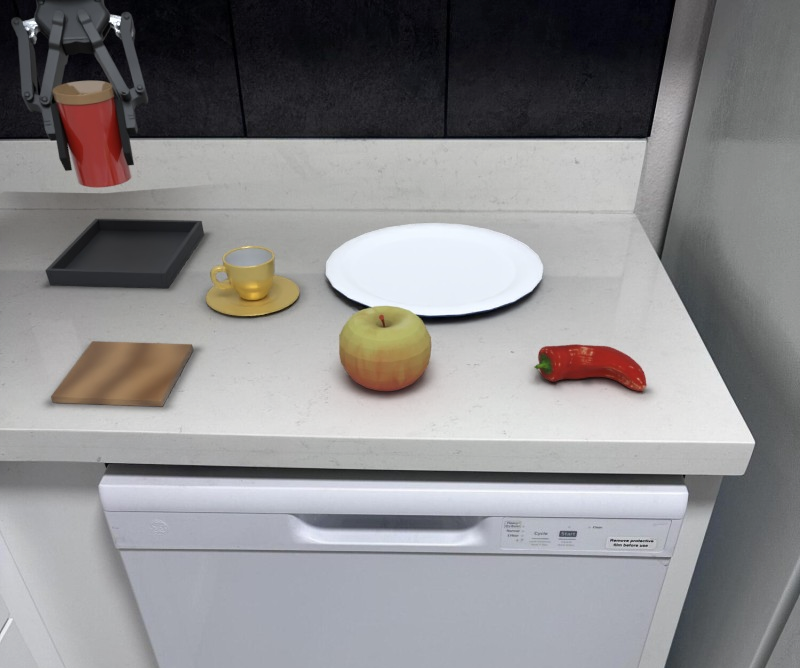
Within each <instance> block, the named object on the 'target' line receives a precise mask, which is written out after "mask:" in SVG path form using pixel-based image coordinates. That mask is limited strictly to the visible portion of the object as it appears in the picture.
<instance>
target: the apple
mask: <svg viewBox="0 0 800 668" xmlns="http://www.w3.org/2000/svg"><path fill="white" fill-rule="evenodd" d="M338 344H339V345H338V346H339V347H338V355H339V359H340V360H339V361H340V364H341V366H342V367H343V369H344V370H345V371H346V372H347V374H348V376H350V378H351V379H352V380H353V381H354V382H355V383H356V384H358V385H360V386H362V387H364V388H367V389H368V390H373V391H378V392H392V391H398V390H402V389H404V388H406V387H409V386H410V385H412V384H414V383H415V382H416V381H417V380H418V379H419V378H420V377H422V376H423V374H425V371H427V368H428V366H429V365H430V359H431V354H432V336H431V334H430V333H429V331H428V328H427V326H426V325H425V323H424V321H423V320H422V318H421V317H420V316H417V315H415V314H414V313H412V312H411V311H409V310H406V309H403V308H400V307H393V306H375V307H371V308H369V307H366V308H364V309H361V310H359V311H357V312H356V313H353V314H352V316H350V317H349V319H348V320H347V321H346V323H345V324H344V325H343V326H342V328H341V330H340V333H339V339H338Z"/></svg>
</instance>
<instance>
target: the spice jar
mask: <svg viewBox="0 0 800 668" xmlns="http://www.w3.org/2000/svg"><path fill="white" fill-rule="evenodd" d="M52 91H53V95H54V99H55V101H56V103H57V106H58V110H59V114H60V117H61V121H62V125H63V128H64V132H65V136H66V139H67V143H68V149H69V155H70V159H71V161H72V165H73V167H74V168H73V169H74V173H75V176H76V179H77V182H78V184H79V185H81V186H82V187H87V188H95V189H96V188H99V189H100V188H109V187H114V186H115V187H116V186H119V185H123V184H124V183H127V182H128V181H130V180H131V179H132V176H133V175H132V170H131V165H129V166H128V165H127V162H126V159H125V156H124V153H123V148H122V142H121V136H120V130H119V124H118V118H117V112H116V106H115V100H114V99H115V90H114V89H113V87H112V84H111V83H110V82H109V81H108V82H107V81H103V80H79V81H71V82H66V83H61V85H59V86H56V87H55V88H53V90H52Z"/></svg>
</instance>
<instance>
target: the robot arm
mask: <svg viewBox="0 0 800 668" xmlns="http://www.w3.org/2000/svg"><path fill="white" fill-rule="evenodd" d="M35 2H36V10H35V12H34V16H33V18H30V19H26V20H22V19H21V18H20V17H18V16H15V17H12V19H11V20H10V24H11V26H12V29H13V30H14V33H15V35H16V37H17V46H18V61H19V75H20V77H19V78H20V90H21V97H22V99H23V101H24V104H25V106H26V107H27V109H28V110H29V112H31V113H37V112H39V113H41V114H42V121H43V127H44V131H45V133H46V135H47V137H48V139H49V140H50V141H51V142H52V141H56V146H57V153H58V158H59V159H58V160H59V162H60V163H61V166H62V168H63V169H64V171H65V172H67V171H68V172H69V171H73V167H72V162H71V161H72V160H71V154H70V150H69V147H68V143H67V139H66V136H65V132H64V128H63V125H62V121H61V117H60V114H59V110H58V106H57V103H56V101H55V99H54V95H53V91H52V90H53V88H55V87H56V86H59V85H62V84H63V77H64V72H65V68H66V65H67V64H68V61H69V60H68V59H69V56H75V55H77V54H85V55H90V54H93V56H94V58H96V61H97V62H98V63H99V65H100V67H101V68H102V70H103V73H104V74H105V76H106V77H107V80H108V82H109V83H110V84H112V87H113V91H114V93H115V94H116V97H118V98H116V99H115V98H114V100H115V106H116V112H117V118H118V124H119V130H120V136H121V142H122V148H123V153H124V156H125V159H126V162H127V165H128V166H129V165H130V166H135V161H134V156H133V151H132V150H133V149H132V145H131V139H130V136H131V135H137V134H138V123H137V118H136V111H135V110H136V107H137V106H138V105H143V106H144V105H147V104H149V97H148V93H147V89H146V85H145V81H144V77H143V73H142V70H141V69H142V68H141V66H140V62H139V58H138V54H137V51H136V47H135V39H136V28H135V25H134V20H133V16H132V13H130V12H128V11H124V12H122V13H121V15H116V14H111V13H110V11H109V10H108V9H107V7H106V5H105V0H35ZM111 28H112V29H113V30H114V32H115V35H116V36H117V37H118V38H119V39H120V40H121V42H122V46H123V49H124V52H125V57H126V60H127V64H128V69H129V72H130V75H131V79H132V83H133V87H132V88H129V87H128V86H127V84H126V82H125V81H124V78H123V77H122V74H121V73H120V71H119V69H118V67H117V66H116V64H115V62H114V60H113V58H112V56H111V54H110V52H109V51H108V49H107V47H106V46H105V43H104V40H105V39H106V37H107V35H108V34H109V32H110V30H111ZM39 32H41V33H42V35H44V36H45V37H46V38H47V40H48V52H47V56H46V61H45V66H44V67H45V68H44V71H43V76H42V81H41V82H42V83H41V87H40V92H38V91H39V89H38V88H39V87H38V76H37V75H38V74H37V62H36V61H37V60H36V51H35V48H34V45H36V43H37V39H38V38H37V34H38V33H39Z"/></svg>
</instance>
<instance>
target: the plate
mask: <svg viewBox="0 0 800 668" xmlns="http://www.w3.org/2000/svg"><path fill="white" fill-rule="evenodd" d="M543 272H544V265H543V262H542V259H541V258H540V256H539V254H538V253H536V252H535V251H534V250H533V249H532V248H531V247H529V246H528V245H527V244H526V243H524V242H522V241H520V240H518V239H516V238H514V237H512V236H510V235H508V234H505V233H502V232H499V231H495V230H492V229H488V228H485V227H480V226H474V225H467V224H460V223H448V222H447V223H446V222H445V223H443V222H425V223H424V222H423V223H421V222H420V223H408V224H400V225H393V226H386V227H382V228H380V229H375V230H372V231H368V232H365V233H362V234H360V235H358V236H356V237H353V238H351V239H349V240H347V241H345V242H343V243H342V244H341V245H340V246H339V247H337V248H336V249H335V250H333V251H332V252H331V254H330V255H329V257H328V259H327V260H326V261H325V277H326V279H327V280H328V282H329V284H330V285H331V287H332V288H333V289H334V290H335V291H337V292H338V293H339V294H341V295H342V296H343V297H345V298H346V299H348V300H350V301H352V302H355V303H357V304H360V305H362V306H364V307H366V308H371V307H375V306H393V307H400V308H403V309H406V310H409V311H411V312H412V313H414V314H415V315H417V316H418V317H420V318H421V317H423V318H443V317H463V316H469V315H475V314H481V313H486V312H491V311H493V310H496V309H499V308H502V307H506V306H508V305H513V304H514V303H517V302H518V301H519V300H521V299H522V298H524V297H527V296H528V295H530V294H531V293H532V292H533V291H534V290H535V289H536V288H537V286H538V285H539V284H540V283H541V281H542V279H543Z"/></svg>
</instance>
